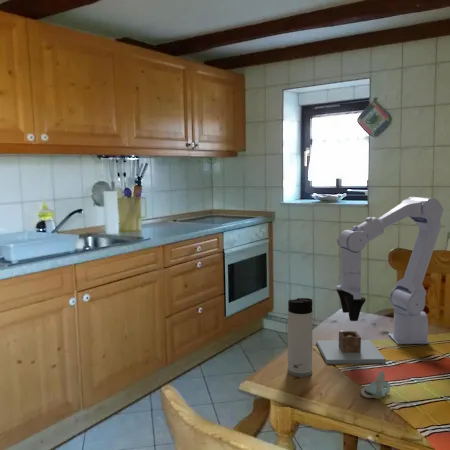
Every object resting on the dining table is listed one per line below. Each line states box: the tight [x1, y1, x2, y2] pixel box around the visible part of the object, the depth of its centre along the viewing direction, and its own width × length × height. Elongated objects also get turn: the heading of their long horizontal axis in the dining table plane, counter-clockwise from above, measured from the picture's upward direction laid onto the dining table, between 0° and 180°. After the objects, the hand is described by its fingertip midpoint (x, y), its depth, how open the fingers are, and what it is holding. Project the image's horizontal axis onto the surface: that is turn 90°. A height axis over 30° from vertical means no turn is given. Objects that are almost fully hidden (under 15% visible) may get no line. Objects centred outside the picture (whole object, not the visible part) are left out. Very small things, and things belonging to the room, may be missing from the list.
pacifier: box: [360, 369, 391, 399], centre depth 109 cm, size 7×6×6 cm
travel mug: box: [287, 297, 314, 378], centre depth 120 cm, size 6×7×20 cm
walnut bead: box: [338, 330, 362, 353], centre depth 133 cm, size 5×5×4 cm
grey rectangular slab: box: [316, 335, 387, 365], centre depth 133 cm, size 16×14×5 cm
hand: (350, 316), depth 137 cm, fingers open, 7 cm apart
